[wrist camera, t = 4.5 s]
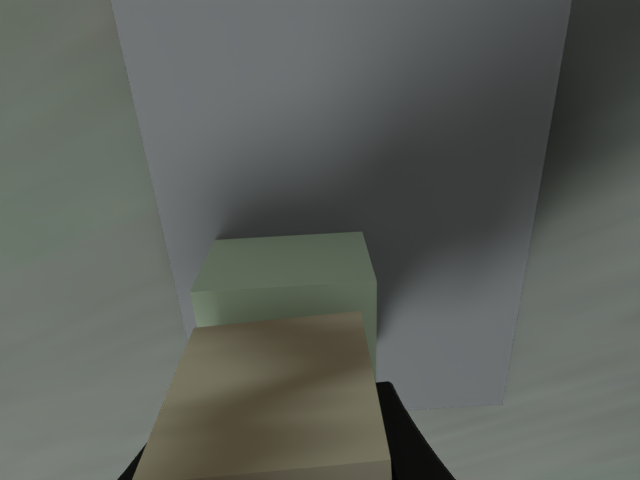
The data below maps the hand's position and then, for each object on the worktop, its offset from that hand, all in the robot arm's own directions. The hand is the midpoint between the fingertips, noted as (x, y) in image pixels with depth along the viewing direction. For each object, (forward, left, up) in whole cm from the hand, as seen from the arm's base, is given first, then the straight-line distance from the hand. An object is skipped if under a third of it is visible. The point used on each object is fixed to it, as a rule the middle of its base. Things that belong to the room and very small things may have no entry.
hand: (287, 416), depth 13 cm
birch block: (0, 0, -1) cm, 1 cm away
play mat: (-3, -5, -7) cm, 9 cm away
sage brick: (0, 0, -6) cm, 6 cm away
